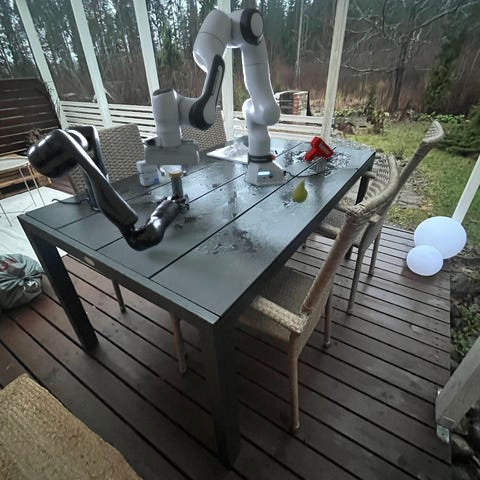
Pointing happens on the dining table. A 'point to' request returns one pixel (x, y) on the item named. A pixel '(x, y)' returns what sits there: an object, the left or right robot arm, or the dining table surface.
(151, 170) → the ink box
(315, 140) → the toy gun
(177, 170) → the lid
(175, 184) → the dark grey cylinder
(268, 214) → the dining table surface
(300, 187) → the fruit
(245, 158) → the relief map
